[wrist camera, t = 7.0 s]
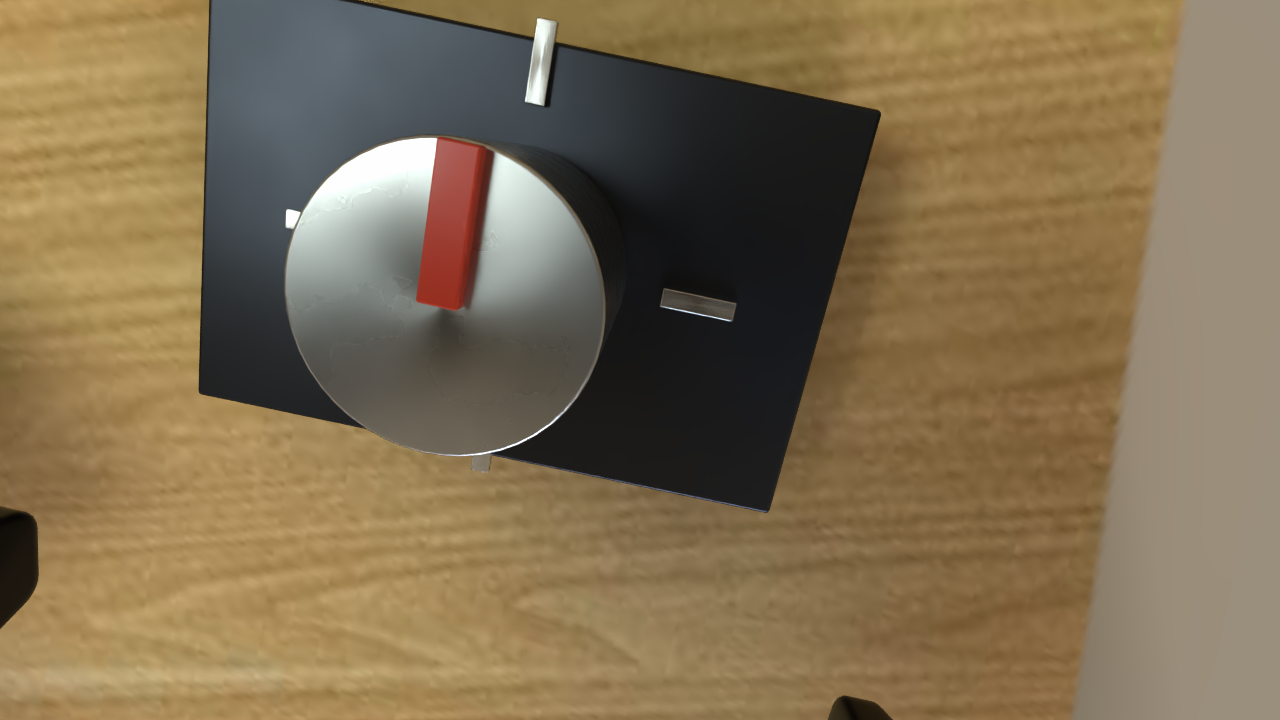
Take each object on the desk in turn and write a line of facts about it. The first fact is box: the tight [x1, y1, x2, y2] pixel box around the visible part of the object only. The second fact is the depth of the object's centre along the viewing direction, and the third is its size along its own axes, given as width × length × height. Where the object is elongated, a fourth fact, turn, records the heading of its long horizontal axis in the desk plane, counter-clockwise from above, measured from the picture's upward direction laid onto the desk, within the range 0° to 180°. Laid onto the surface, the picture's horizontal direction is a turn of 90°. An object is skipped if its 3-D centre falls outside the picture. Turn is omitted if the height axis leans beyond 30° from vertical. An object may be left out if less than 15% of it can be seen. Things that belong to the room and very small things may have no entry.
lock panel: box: [199, 0, 881, 513], centre depth 15 cm, size 12×9×3 cm
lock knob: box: [284, 134, 627, 456], centre depth 11 cm, size 4×4×4 cm
